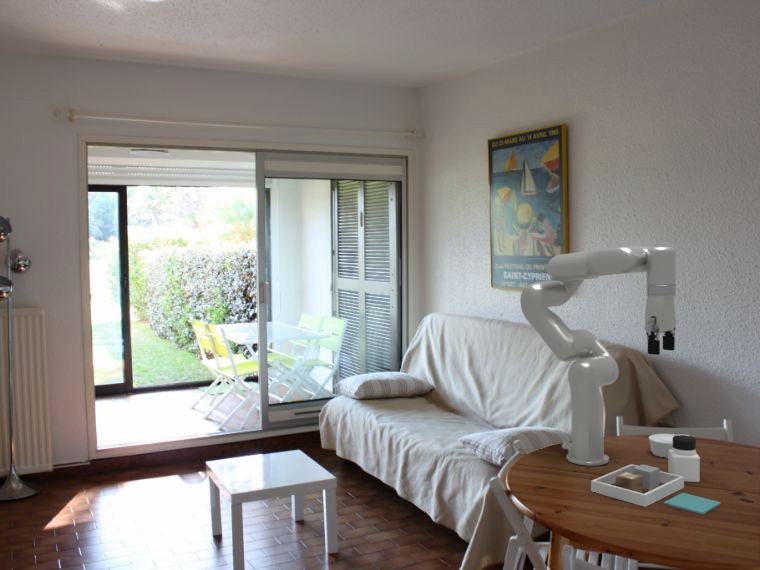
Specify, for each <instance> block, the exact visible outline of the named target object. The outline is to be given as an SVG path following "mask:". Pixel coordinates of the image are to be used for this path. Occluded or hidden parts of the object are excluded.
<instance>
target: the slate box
mask: <svg viewBox="0 0 760 570" xmlns="http://www.w3.org/2000/svg"><path fill="white" fill-rule="evenodd" d="M660 471H661V469H660V468H659V467H655V466H651V465H648V464H643V463H642V464H640V465H637V467H635V468H633V473H634V474H638V475H642V476H643V490H647V489H648V491H651V490H653V489H655V488H657V487H659V486H660V482H659V481H660Z"/></svg>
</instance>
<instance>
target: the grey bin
mask: <svg viewBox="0 0 760 570" xmlns="http://www.w3.org/2000/svg"><path fill="white" fill-rule="evenodd" d="M637 466H638V465H636V464H633V463H632V464H631V463H630V464H628V465H626V466H623V467H621V468H619V469H618V468H617V470H614V471H612V472H608V473H606V474H604V475H602V476H599V477H596V478H595V479H592V480H590V492H591V491H592V493H594V492H596V494H598V493H599V494H598V495H601V494H602V496H605V497H609V498H613V499H616V500H619V501H623V502H627V503H629V504H634V505H637V506H641V507H644V508H646V507H648V506H650V505H652V504H654V503H656V502H658V501H660V500H662V499H664V498H667V497H668V496H670V495H672V494H674V493H676V492H678V491H680V490H682V489H684V488H685V482H684V477H683V476H679V475H675V474H670V473H668V472H666V471H663V470H660V481H659V484H660V483H661V485H659V486H658V487H656V488H654V489H652V490H648V491H647V492H645V493H644V492H643V493H639V492H635V491H632V490H628V489H624V488H621V487H617V486H616V485H613V484H616V475H618V474H621V473H623V472H625V471H626V472H630V473H633V468H635V467H637Z"/></svg>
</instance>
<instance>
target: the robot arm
mask: <svg viewBox="0 0 760 570" xmlns="http://www.w3.org/2000/svg"><path fill="white" fill-rule="evenodd" d="M676 251H677V250H676V249H675V248H674V247H672V246H651V247H650V246H644V245H642V246H641V245H634V246H633V245H632V246H618V247H613V248H604V249H599V250H598V249H597V250H595V249H591V250H585V251H579V252H571V253H563V254H557V255H556V256H553V257H552V258H550V260H549V261H548V263H547V265H546V266H547V267H546V272H547V274H548V276H549V277H550V278H551V279H552V280H546V281H545V280H544V281H535V282H533V283H530V284H527V285H526V286H525V287H524V288H523V289H522V291H521V294H520V304H519V305H520V309H521V312H522V314H523V316H524V318H525V320H526V321H527V322H528V323H529V325H531V327H533V329H534V330H535V331H536V332H537V333H538V335H539V336H540V337H541V339H542V340H543V342H544V343H545V344H546V345H547V347H548V348H549V349H550V351H551V352H552V353H553V354H554V357H555V356H556V358H557V359H558V360H560V361H562V362H564V363H565V362H566V363H567V362H568V363H569V362H572V361H573V362H572V364H571V365H570V367H569V368H568V372H567V373H568V374H567V376H568V377H567V378H568V383H569V389H570V400H571V403H570V404H571V405H570V406H571V407H570V409H571V442H570V441H566V440H564V441H563V442H562V445H561V448H562V449H564V450H567V451H568V452H567V454H566V460H567V461H568V462H569V463H572V464H574V465H575V464H576V465H581V466H587V467H588V466H589V467H592V466H593V467H594V466H596V467H597V466H603V465H606V464H608V463H609V462H610V457H609V455H608V454H605V453H604V449H605V448H604V447H605V446H604V445H605V443H604V436H605V435H604V430H605V429H604V424H605V422H604V420H605V419H604V413H605V412H604V405H605V404H604V399H603V395H602V393H601V390H600V388H601V387H605V386H606V387H607V386H608V385H612V384H613V383H615V382H616V381H617V379H618V378H619V374H620V369H619V365H618V362H617V361H616V360H615V358H614V357H613V356H612V355H611V353H610V352H609V351H608V350H607V348H606V347H605V346H604V344H602V342H601V341H600V339H598V338H597V336H596V335H594V334H593V332H591V331H589V330H586V329H580V328H579V329H570V328H569V326H567V325H566V323H565V322H564V321H563V319H562V318H561V317H560V316H559V315H558V314H556V313H555V312H553V311H552V310H551V309H549V308H551V307H560V306H563V305H565V304H566V303H567V302H568V301H570V299H571V298H572V296H573V295H575V292H577V290H578V289H579V288H580V287H581V286H582V284H583V282H584V281H585V280H592V279H598V278H599V277H601V276H602V277H603V276H611V275H612V276H613V275H621V274H635V273H645V272H646V297H647V298H646V305H645V310H644V311H645V316H644V330H645V331H646V332H645V333H646V340H647V354H648V355H656V356H658V355H660V354H661V347H660V346H661V340H660V339H659V338H660V336H661V334H663V335H662V350H664V351H673V352H674V351H675V350H676V349H675V347H676V346H675V344H676V343H675V342H676V341H675V339H676V338H675V337H676V332H675V331H676V329H677V328H676V325H677V319H676V302H675V297H676V296H677V293H676V292H677V285H676V284H677V282H676V279H677V269H676V268H677V263H676V262H677V260H676V259H677V252H676Z"/></svg>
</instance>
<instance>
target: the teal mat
mask: <svg viewBox="0 0 760 570" xmlns="http://www.w3.org/2000/svg"><path fill="white" fill-rule="evenodd" d="M663 504H664V505H666V506H669V507H673V508H677V509H679V510H685V511H688V512H691V513H695V514H699V515H703V516H704V515H705V514H706V513H708V512H710V511H712V510H713V509H715V508H717V507H719V506H721V505H722V504H721V502H720V501H717V500H712V499H709V498H705V497H702V496H697V495H693V494H689V493H686V492H681V493H679V494H677V495H675V496H674V497H671V498H670V499H667V500H665V501H663Z"/></svg>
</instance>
